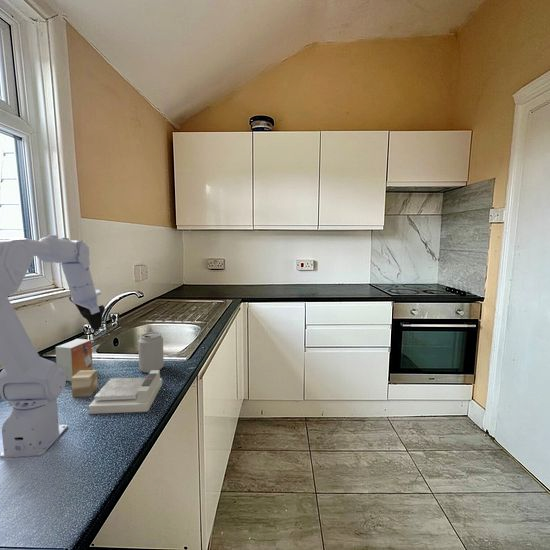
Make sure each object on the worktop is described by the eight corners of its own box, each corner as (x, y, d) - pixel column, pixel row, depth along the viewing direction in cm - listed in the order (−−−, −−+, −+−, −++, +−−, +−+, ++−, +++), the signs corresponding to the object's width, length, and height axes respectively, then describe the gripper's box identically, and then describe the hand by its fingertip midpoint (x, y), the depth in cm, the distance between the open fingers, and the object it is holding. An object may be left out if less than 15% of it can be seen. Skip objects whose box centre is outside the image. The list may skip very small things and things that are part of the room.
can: (136, 368, 101) (135, 333, 99) (159, 362, 106) (158, 329, 104) (143, 376, 95) (142, 339, 94) (167, 370, 100) (166, 335, 98)
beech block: (90, 396, 83) (89, 377, 82) (72, 396, 83) (71, 377, 82) (97, 388, 88) (96, 370, 87) (81, 388, 87) (79, 370, 86)
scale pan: (135, 399, 78) (135, 395, 78) (94, 400, 77) (94, 396, 76) (147, 380, 88) (147, 377, 88) (111, 381, 86) (110, 378, 86)
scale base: (147, 411, 76) (147, 391, 76) (88, 413, 75) (87, 393, 74) (162, 384, 90) (161, 367, 90) (112, 386, 89) (111, 368, 88)
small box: (72, 382, 91) (70, 348, 89) (56, 380, 92) (54, 346, 90) (93, 370, 98) (91, 339, 97) (78, 369, 99) (77, 338, 98)
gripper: (106, 287, 80) (116, 327, 87) (86, 267, 88) (97, 305, 95) (77, 297, 76) (90, 339, 82) (58, 275, 84) (71, 314, 91)
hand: (92, 321), depth 89 cm, fingers open, 7 cm apart
